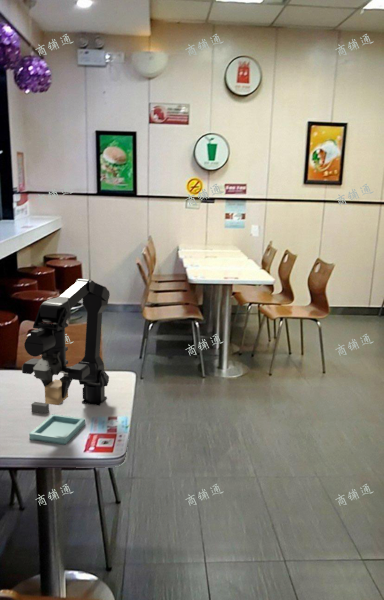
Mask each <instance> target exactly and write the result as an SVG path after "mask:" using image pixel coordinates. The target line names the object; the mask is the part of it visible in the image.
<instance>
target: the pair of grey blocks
mask: <svg viewBox="0 0 384 600" xmlns="http://www.w3.org/2000/svg"><path fill="white" fill-rule="evenodd" d="M30 405H31V406H30V407H31V412H32V413H39V414H47V413H48V412H49V411H50V404H46V403H45V402H40V401H39V402H38V401H33V402H32V404H30Z"/></svg>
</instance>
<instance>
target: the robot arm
mask: <svg viewBox="0 0 384 600" xmlns="http://www.w3.org/2000/svg"><path fill="white" fill-rule="evenodd" d="M110 295H111V294H110V290H109V289H108V288H107V287H106V286H103V285H102V284H99V283H98V282H95V281H94V280H92V279H88V278H77V279H76V280H75V283H74V284H72V285H71V286H69V288H67V289H66V290H65V291H64V292H63V293H61V294H60V295H59V296H57V297H54V298H49V299H48V300H45V301H43V302H42V303H41V305H40V306H39V308H38V311H37V314H36V316H35V320H34V323H33V324H32V325H33V326H32V328H33V329H34V330H31V331H30V335H29V336H28V337H27V338H26V339H25V341H24V349H25V351H26V353H27V354H28V355H30V356H31V357H33V358H30V359H29V360H27V361H25V362H24V363H22V365H21V373H22V374H26V375H32V374H33V373H34V374H33V377H34V378H36V379H37V380H40V381H41V383H42V384H43V387H44V388H45V386H47V385H48V384H50V383H51V382H52V381H54V380H53V377H54V376H58V375H59V374H60V373H61V374H63V376H62V377H60V378H59V380H60V381H61V382H62V398H64V397H65V396H66V393H67V391H68V392H69V388H70V385H71V384H72V381H73V380H74V381H78V382H79V385H83V386H82V401H81V403H82V404H86V405H93V406H101V404H103V402H104V401H106V400H107V397H108V396H105V395H106V393H105V391H106V389H105V387H108V385H109V381H110V380H109V379H110V376H109V375H108V373H107V372H106V371H105V363H104V361H103V359H102V358H101V355H100V354H101V338H102V321H103V313H104V311H105V309H106V308H107V306H108V304H109V300H110ZM81 300H82V306H83V308H84V309H85V311H86V325H85V326H86V328H85V342H84V343H85V344H84V356H83V358H82V359H81V360H80V361H79V362H78V363H75V364H73V365H72V366H67V365H68V364H69V359H67V355H66V353H67V352H68V349H69V348H68V346H66V328H67V327H69V324H68V322H67V320H68V319H69V318H70V316H71V311H72V309H73V308H74V307H75V306H76V305H77V304H78V303H79V302H80V301H81ZM40 356H41V358H37V357H40ZM34 357H35V358H34Z"/></svg>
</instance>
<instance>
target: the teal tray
mask: <svg viewBox="0 0 384 600" xmlns="http://www.w3.org/2000/svg"><path fill="white" fill-rule="evenodd" d="M85 425H86V418H83V417H78V416H71V415H63V414H56V413H52V414H50V415H49V416H48V417H47V418H46V419H44V421H43V422H41V423H40V424H39V425H37V427H35V428H34V429H32V431H30V432H29V440H32V441H38V442H45V443H51V444H55V445H56V444H57V445H64V446H66V444H67V443H68V442H69V441H70V440H71V439H72V438H73V437H75V435H76V434H77V433H78V432H79V431H80V430H81V429H82V428H83V427H84V426H85Z"/></svg>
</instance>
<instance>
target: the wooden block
mask: <svg viewBox="0 0 384 600" xmlns="http://www.w3.org/2000/svg"><path fill="white" fill-rule="evenodd" d="M68 397H69V390H68V391H67V393H66V396H65V397H64V398H62V382H61V381H60V379H54V380H53V381H52V382H51V383H50V384H48V385H47V386H45V387H44V403H46V404H49V405H54V406H59V405H60V404H62V403H63V402H64V401H65V400H66V399H67V398H68Z"/></svg>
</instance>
